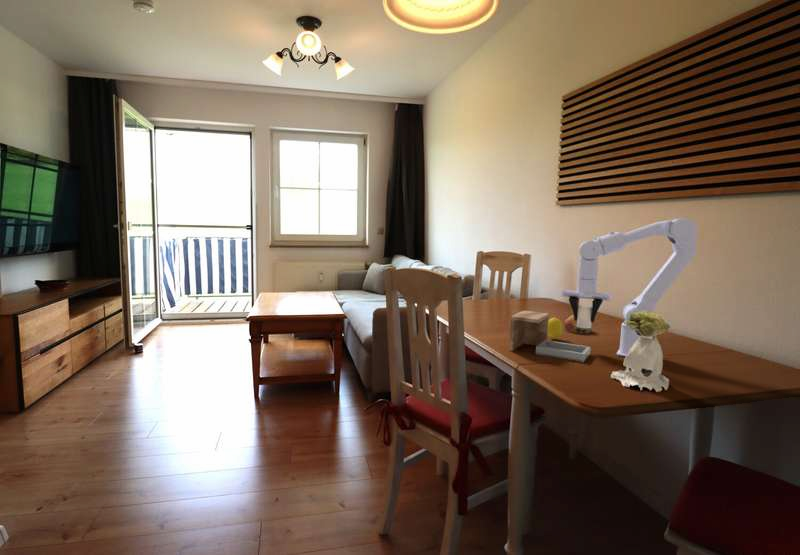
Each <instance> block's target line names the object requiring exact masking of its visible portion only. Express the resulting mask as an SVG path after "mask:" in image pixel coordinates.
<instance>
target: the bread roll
mask: <svg viewBox="0 0 800 555" xmlns="http://www.w3.org/2000/svg"><path fill="white" fill-rule="evenodd" d="M563 329H564V331H565V332H568V333H573V334H582V335H583V334H589V333H591V332H592V329H593V328H592V325H591V328H580V327H577V321H576V320H574V314H571V315H570V316H569V317H568V318H567V319H565V320H564V325H563Z"/></svg>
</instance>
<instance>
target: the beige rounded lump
mask: <svg viewBox="0 0 800 555" xmlns="http://www.w3.org/2000/svg"><path fill="white" fill-rule="evenodd" d="M591 317H592V306H589V305H578V312H577V327H580V328H591V326H592V323H593V322H591Z"/></svg>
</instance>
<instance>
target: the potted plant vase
mask: <svg viewBox="0 0 800 555" xmlns="http://www.w3.org/2000/svg"><path fill="white" fill-rule="evenodd" d="M629 320H630V321H625V320H624V321H623V322H622V323H624V324H626V326H627V327H629V328H630V329H632V330H635V331H636V334H637V335H639V336H640V337H639V339H638V340H637V341H636V342H635V343H634V345H633V346H632V347H631V349H630V351H629V352H628V354H627V355H626V356H625V358H624V360H623V363H622V364H623V366H624V367H626V368H625V370H618V371H615V370H614V371H612V373H611V374H610V378H611V379H616V380H618V381H619V382H621V385H622V386H623V387H628V388H630V386H632V387H634V386H638V388H640V391H642V390H643V388H647V389H649V391H652V390H653V389H654V390H655V392H657V393H659V392H661V391H662V390H663V388H664V390H665V391H667V390H668V389H669V385H670V379H669V378H667V377H666V376H665V375H664V374H662V371H663V366H664V363H663V362H664V361H663V360H664V355H663V350H662V347H661V344H660V342H659V339H658V338H657V336H658V335H660V334H664V333H666V332H668V329H670V327H671V326H670V324H669V323H668V322H667V321H665V320H664V319H663V318H661V316H660V315H659V314H657V313H655V312H648V311H640V312H635V313H632V314H631V316H630V318H629ZM662 387H663V388H662Z"/></svg>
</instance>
